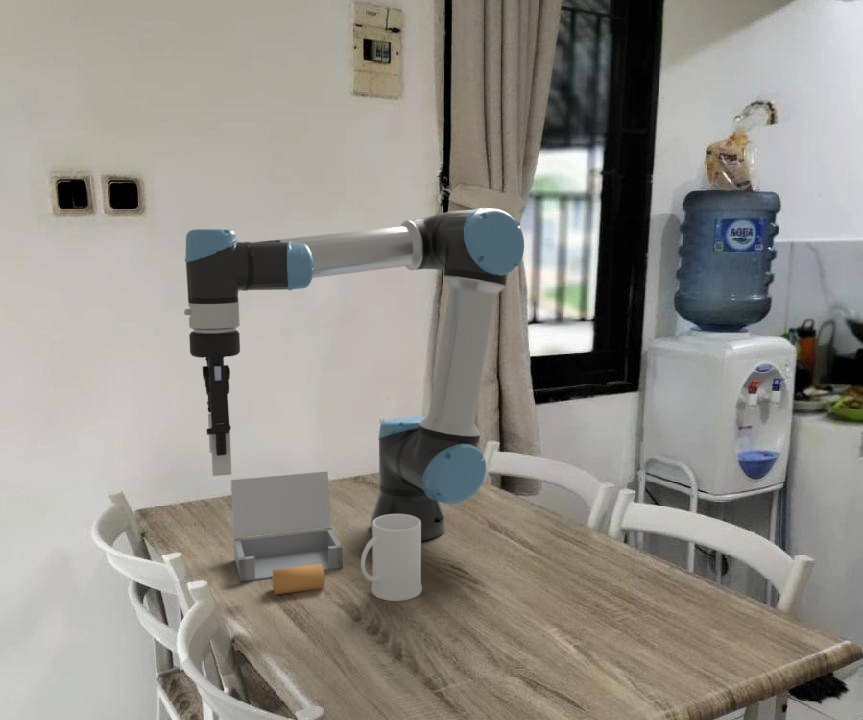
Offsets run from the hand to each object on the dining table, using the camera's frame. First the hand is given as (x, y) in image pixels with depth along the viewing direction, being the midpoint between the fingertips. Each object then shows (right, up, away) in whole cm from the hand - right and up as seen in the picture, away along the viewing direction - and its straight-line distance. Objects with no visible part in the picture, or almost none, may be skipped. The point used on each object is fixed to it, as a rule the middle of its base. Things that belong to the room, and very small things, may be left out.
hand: (219, 462), depth 122 cm
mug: (+27, -23, +6) cm, 35 cm away
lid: (+6, -11, +22) cm, 25 cm away
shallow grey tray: (+8, -21, +17) cm, 28 cm away
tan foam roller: (+11, -20, +7) cm, 24 cm away
